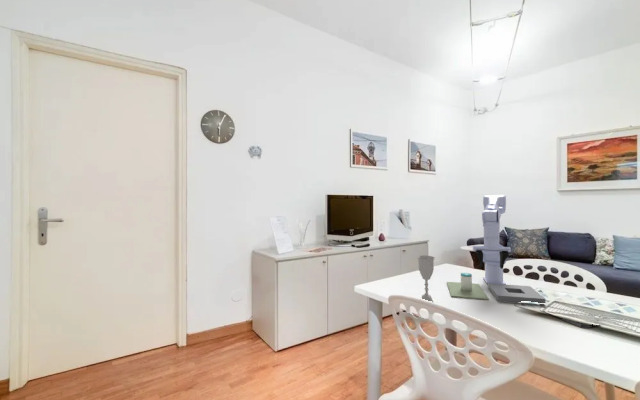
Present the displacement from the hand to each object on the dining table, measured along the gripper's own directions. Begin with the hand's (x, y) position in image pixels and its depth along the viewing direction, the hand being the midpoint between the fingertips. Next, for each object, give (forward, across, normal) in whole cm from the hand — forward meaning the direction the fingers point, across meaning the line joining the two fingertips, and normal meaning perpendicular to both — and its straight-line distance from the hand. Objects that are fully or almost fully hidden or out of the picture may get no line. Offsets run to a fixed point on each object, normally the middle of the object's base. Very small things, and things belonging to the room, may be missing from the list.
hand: (491, 267), depth 128 cm
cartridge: (+10, -11, -3) cm, 15 cm away
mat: (+10, -11, -2) cm, 15 cm away
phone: (+11, +18, -24) cm, 32 cm away
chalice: (+11, -28, -20) cm, 36 cm away
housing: (+10, +7, -6) cm, 14 cm away
